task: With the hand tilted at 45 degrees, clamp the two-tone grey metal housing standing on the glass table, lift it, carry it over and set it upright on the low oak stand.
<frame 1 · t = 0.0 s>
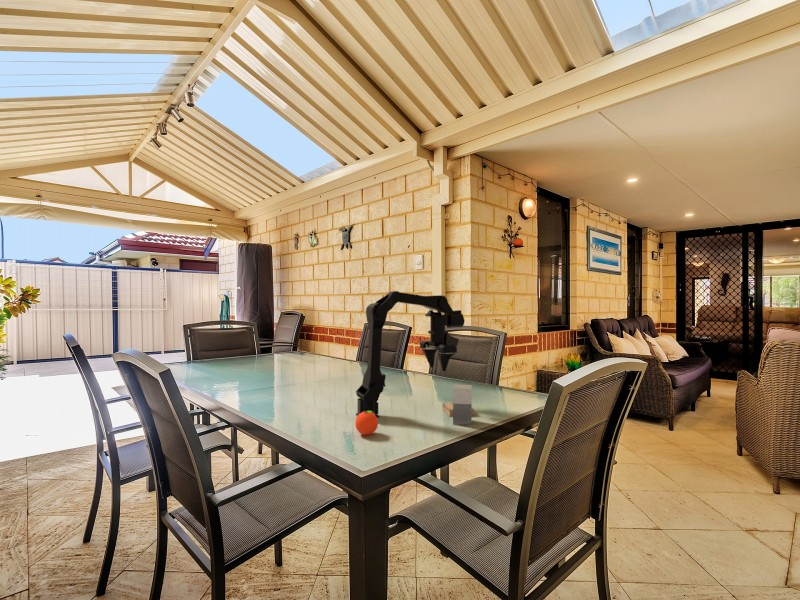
hand: (437, 369, 149), 15 cm above the table, fingers open, 9 cm apart
stand: (457, 412, 143), on the table
housing: (462, 422, 131), on the table
clementine: (367, 434, 120), on the table
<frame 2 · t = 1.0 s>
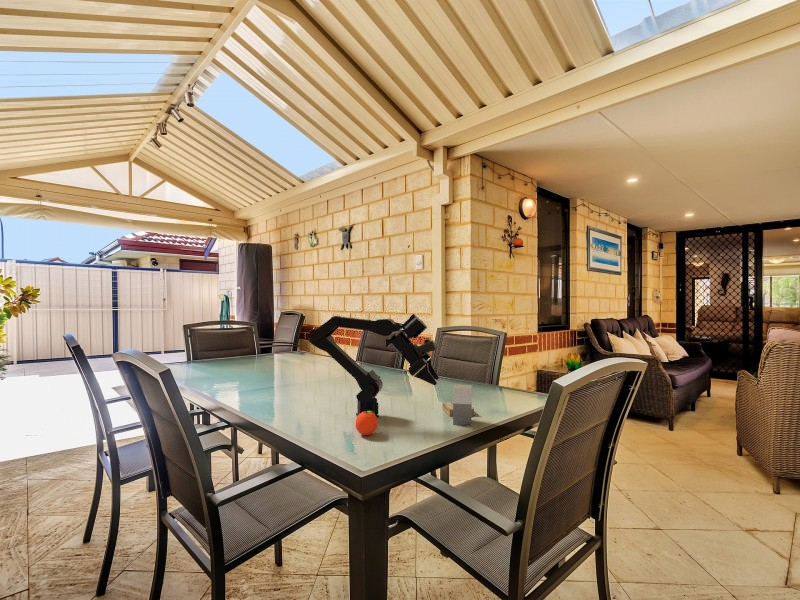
hand: (437, 381, 133), 13 cm above the table, fingers open, 9 cm apart
nothing on the table moved.
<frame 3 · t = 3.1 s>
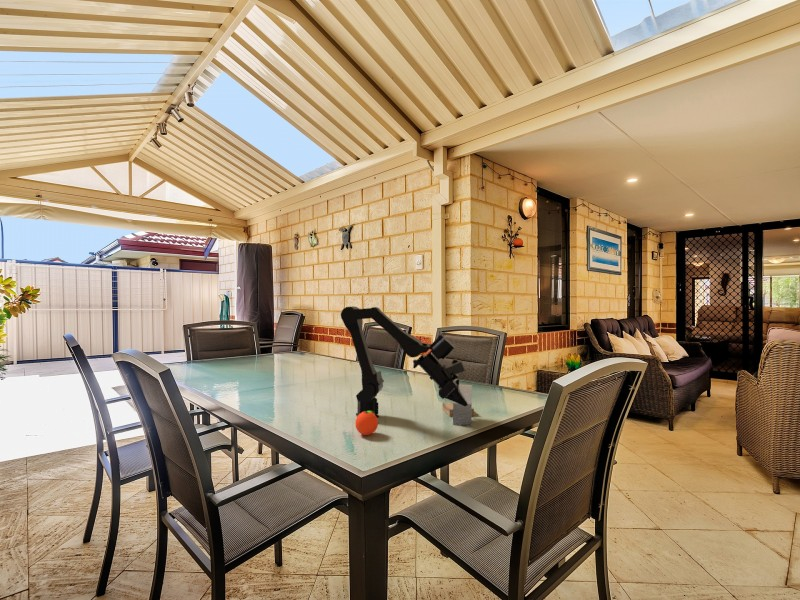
hand: (466, 402, 131), 7 cm above the table, fingers closed on housing, 6 cm apart
housing: (462, 422, 131), on the table, touching gripper
everything else where it was.
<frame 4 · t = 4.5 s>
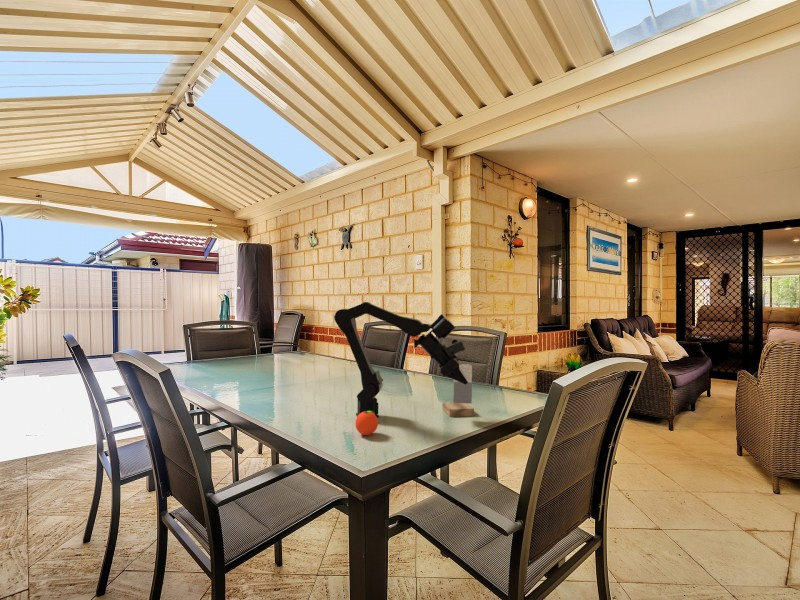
hand: (466, 381, 133), 13 cm above the table, fingers closed on housing, 6 cm apart
housing: (462, 400, 134), point 7 cm above the table, touching gripper
everything else where it was.
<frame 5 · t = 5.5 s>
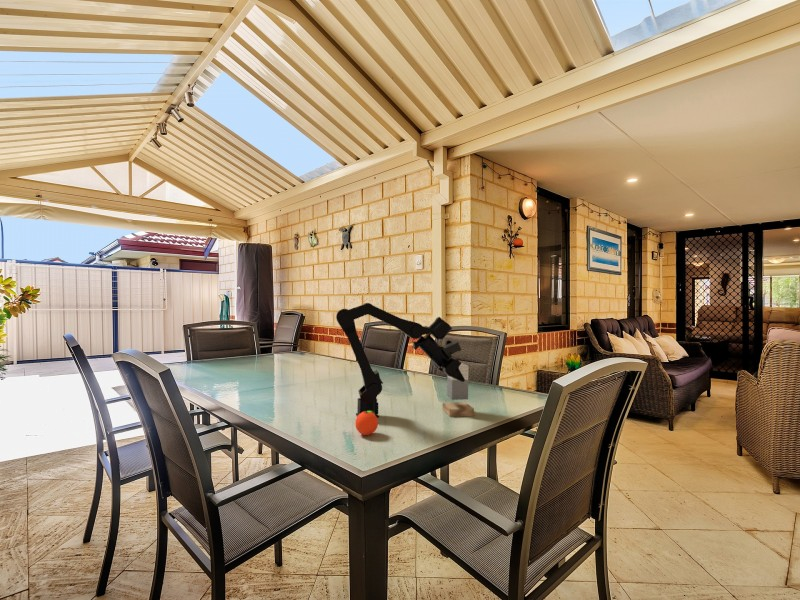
hand: (461, 379, 143), 12 cm above the table, fingers closed on housing, 6 cm apart
housing: (457, 397, 143), point 5 cm above the table, touching gripper
everything else where it was.
when the fingers open (10 cm above the table, at t = 6.3 s): housing drops 1 cm, resting on stand.
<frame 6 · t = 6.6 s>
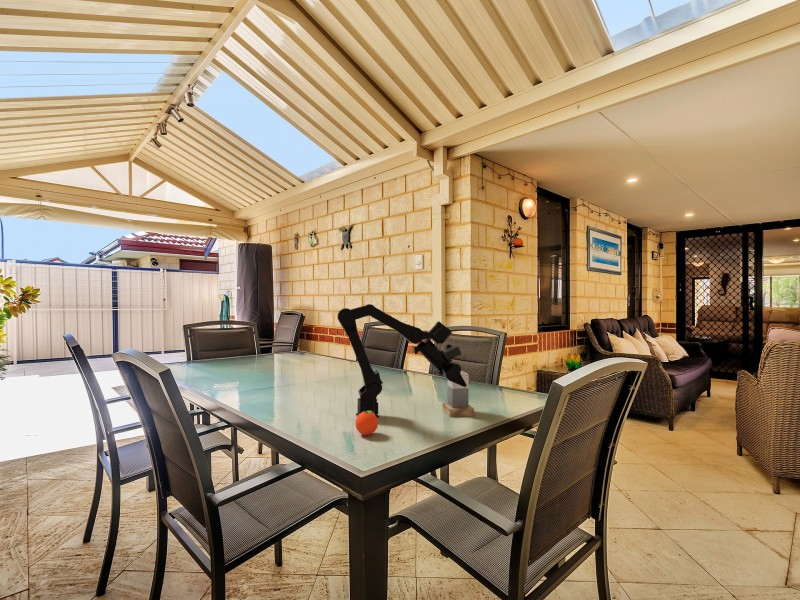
hand: (461, 383, 143), 11 cm above the table, fingers open, 9 cm apart
housing: (457, 405, 143), point 2 cm above the table, touching stand
everything else where it was.
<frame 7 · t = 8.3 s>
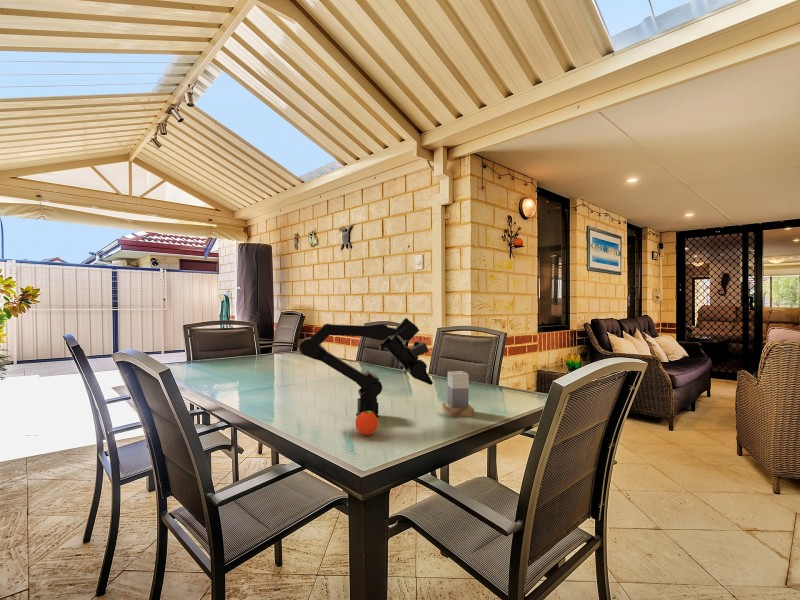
hand: (428, 381, 141), 12 cm above the table, fingers open, 9 cm apart
nothing on the table moved.
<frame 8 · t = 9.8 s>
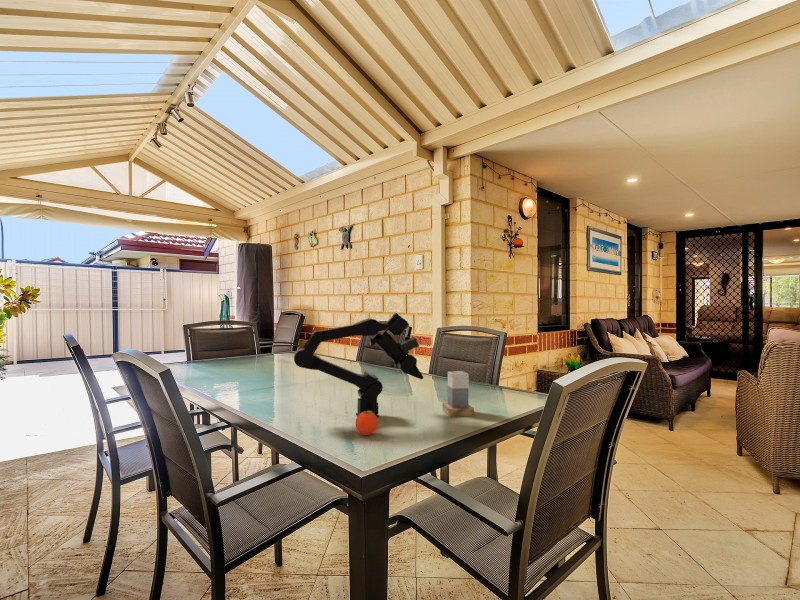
hand: (419, 376, 141), 14 cm above the table, fingers open, 9 cm apart
nothing on the table moved.
at the end: housing inside the target area on the stand (0.0 cm from its centre), point 2.5 cm above the stand's base; housing tilted 0°; the gripper is holding nothing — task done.
